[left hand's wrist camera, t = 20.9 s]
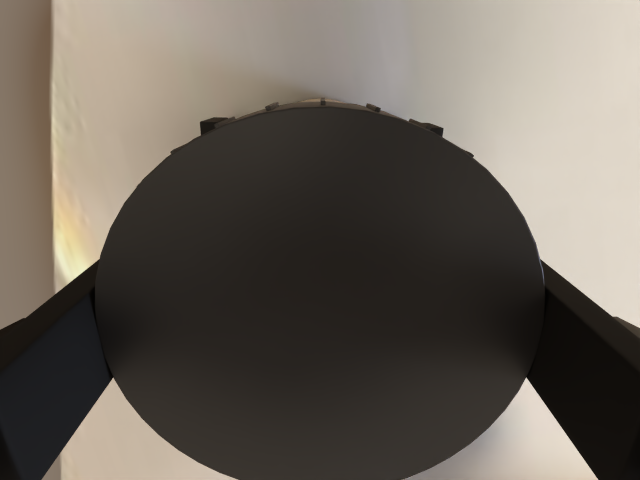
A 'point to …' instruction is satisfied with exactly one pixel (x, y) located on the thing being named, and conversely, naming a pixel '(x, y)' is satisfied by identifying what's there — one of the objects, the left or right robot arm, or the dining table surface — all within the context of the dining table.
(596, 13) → the dining table surface
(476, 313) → the lid
